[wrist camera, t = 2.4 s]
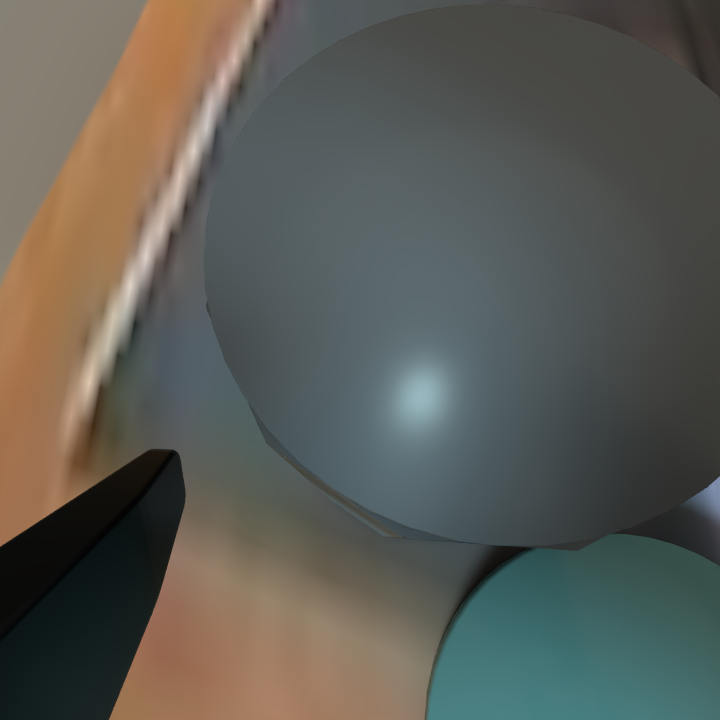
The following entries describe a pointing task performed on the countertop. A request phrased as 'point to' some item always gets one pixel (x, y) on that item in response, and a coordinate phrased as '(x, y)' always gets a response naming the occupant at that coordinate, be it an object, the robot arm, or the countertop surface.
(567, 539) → the grey faceted cylinder
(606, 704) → the dish
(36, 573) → the robot arm
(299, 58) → the countertop surface
